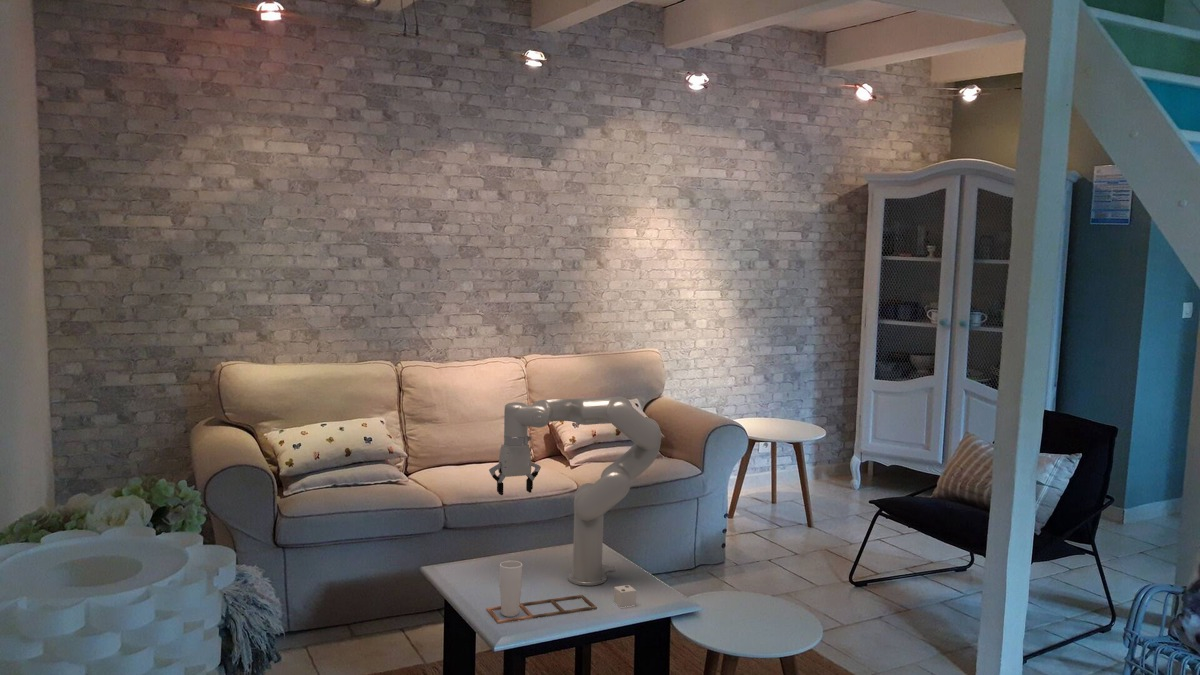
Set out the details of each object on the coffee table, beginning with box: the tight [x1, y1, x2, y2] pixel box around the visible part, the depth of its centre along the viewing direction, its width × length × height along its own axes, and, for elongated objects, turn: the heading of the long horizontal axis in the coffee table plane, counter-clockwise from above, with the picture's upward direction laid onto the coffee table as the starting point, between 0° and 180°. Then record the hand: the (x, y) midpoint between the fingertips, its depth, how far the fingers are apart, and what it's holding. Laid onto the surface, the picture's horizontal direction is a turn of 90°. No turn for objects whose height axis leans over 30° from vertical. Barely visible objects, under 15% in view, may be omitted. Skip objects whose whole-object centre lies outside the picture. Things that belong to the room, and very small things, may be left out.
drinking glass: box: [498, 560, 524, 618], centre depth 266 cm, size 7×7×15 cm
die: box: [613, 584, 637, 608], centre depth 276 cm, size 5×5×5 cm
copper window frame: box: [485, 594, 598, 624], centre depth 271 cm, size 31×11×1 cm, turn 114°
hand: (514, 492), depth 295 cm, fingers open, 9 cm apart
